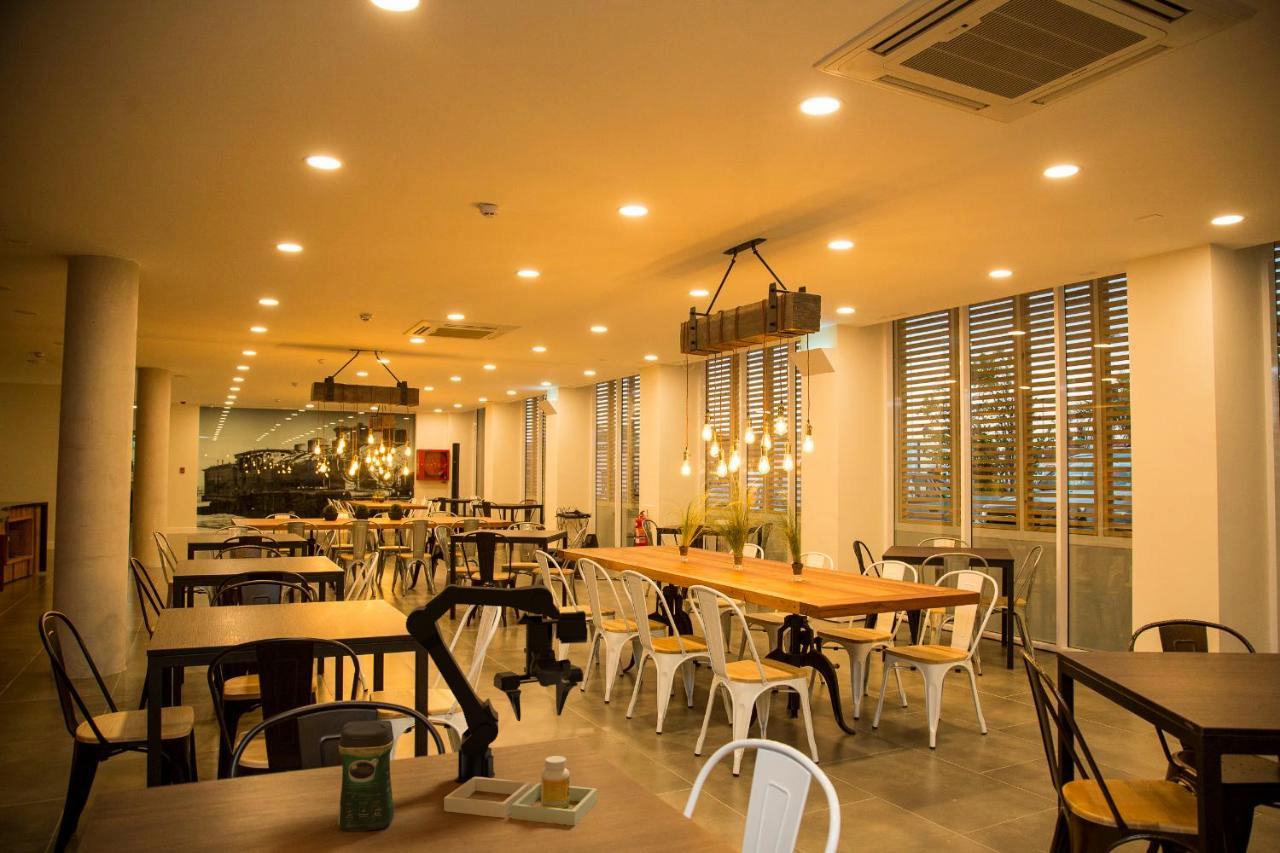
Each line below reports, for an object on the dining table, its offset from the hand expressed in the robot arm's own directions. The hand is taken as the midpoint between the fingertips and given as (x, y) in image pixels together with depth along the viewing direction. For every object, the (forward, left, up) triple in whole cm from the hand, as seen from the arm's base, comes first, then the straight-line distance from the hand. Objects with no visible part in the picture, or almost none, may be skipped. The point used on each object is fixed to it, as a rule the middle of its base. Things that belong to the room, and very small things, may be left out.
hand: (538, 718), depth 192 cm
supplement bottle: (+11, -18, -12) cm, 24 cm away
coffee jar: (-20, -34, -12) cm, 41 cm away
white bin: (-3, -18, -12) cm, 22 cm away
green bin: (+11, -18, -12) cm, 24 cm away
